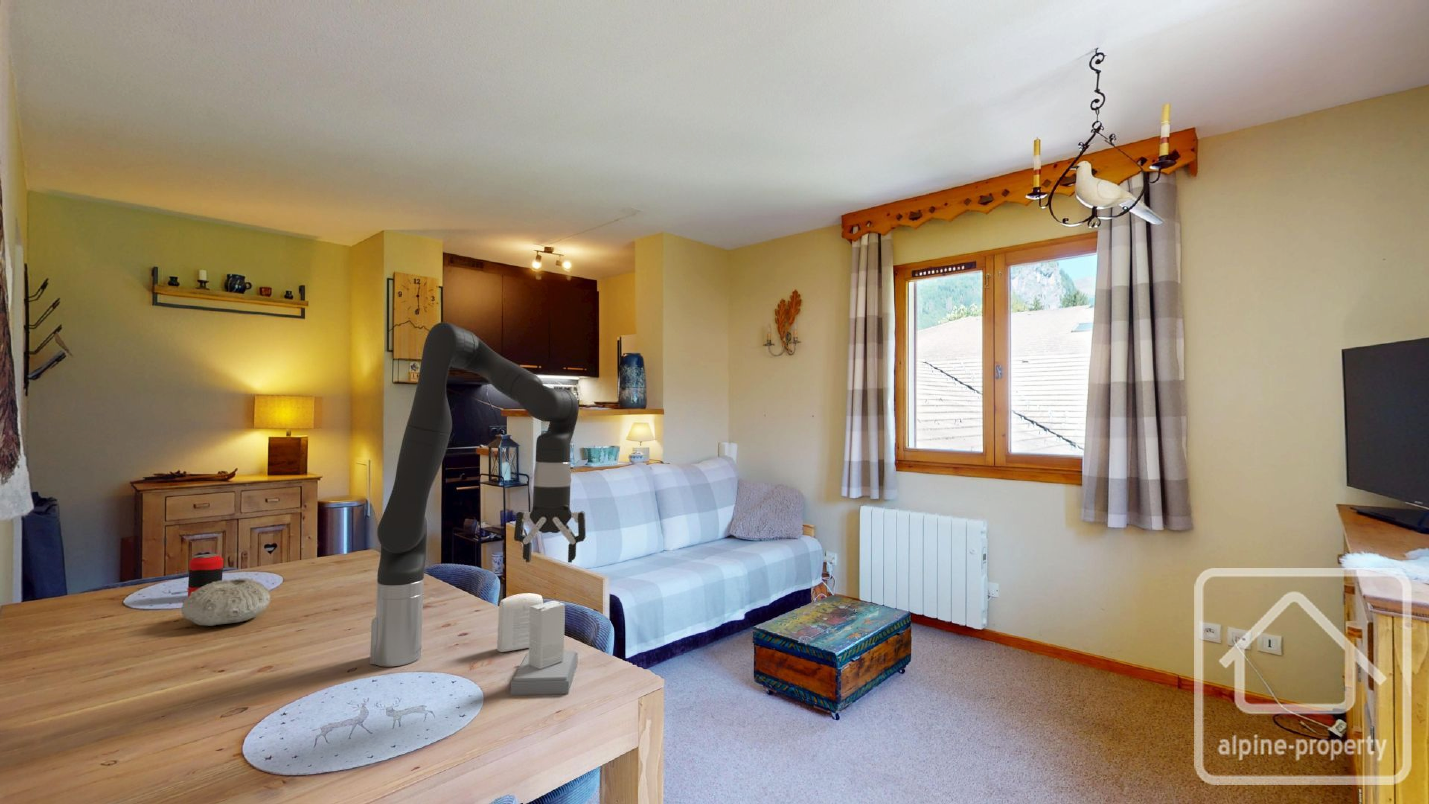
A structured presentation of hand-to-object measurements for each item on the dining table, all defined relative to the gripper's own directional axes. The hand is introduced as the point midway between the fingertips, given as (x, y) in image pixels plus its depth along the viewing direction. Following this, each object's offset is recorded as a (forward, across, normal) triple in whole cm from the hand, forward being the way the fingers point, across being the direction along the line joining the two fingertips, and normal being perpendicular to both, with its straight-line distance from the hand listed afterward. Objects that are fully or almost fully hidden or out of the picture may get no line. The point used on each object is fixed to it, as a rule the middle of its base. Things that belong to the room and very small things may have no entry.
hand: (549, 561), depth 127 cm
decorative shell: (+24, -87, +40) cm, 99 cm away
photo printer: (+24, -9, +18) cm, 32 cm away
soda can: (+24, -107, +62) cm, 126 cm away
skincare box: (+21, 0, 0) cm, 21 cm away
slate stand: (+24, 0, 0) cm, 24 cm away
